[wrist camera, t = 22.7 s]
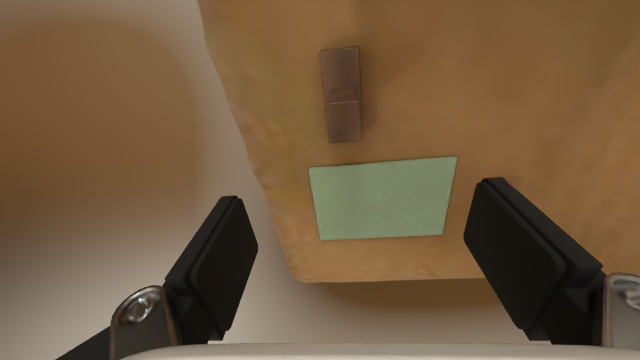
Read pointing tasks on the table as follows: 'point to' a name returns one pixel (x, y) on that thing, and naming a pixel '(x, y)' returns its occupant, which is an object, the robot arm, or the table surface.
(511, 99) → the table surface
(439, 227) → the desk pad
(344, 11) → the table surface
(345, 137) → the brown t-shaped block
